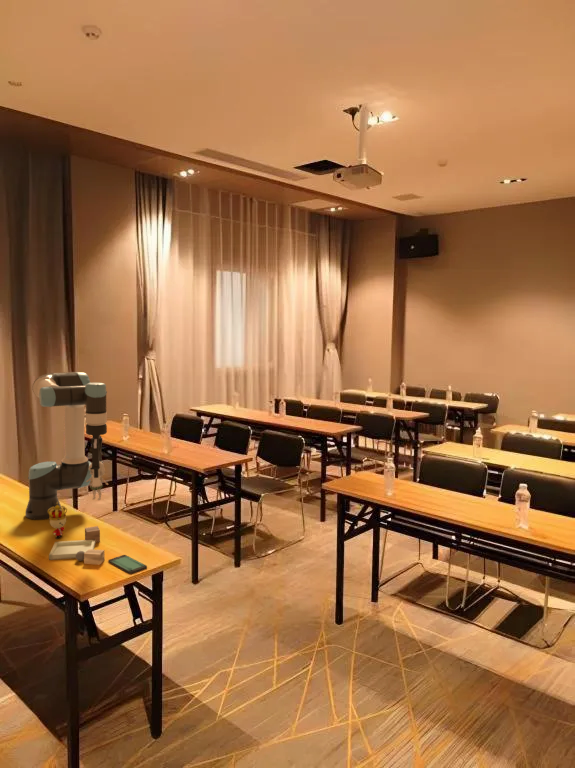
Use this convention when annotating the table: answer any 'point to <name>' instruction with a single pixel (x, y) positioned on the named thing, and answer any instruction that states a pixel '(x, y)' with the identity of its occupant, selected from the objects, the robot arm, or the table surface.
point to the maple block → (94, 556)
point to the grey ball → (80, 556)
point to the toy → (57, 519)
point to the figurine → (98, 488)
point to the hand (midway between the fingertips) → (97, 482)
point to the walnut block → (92, 534)
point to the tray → (70, 548)
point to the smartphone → (127, 564)
